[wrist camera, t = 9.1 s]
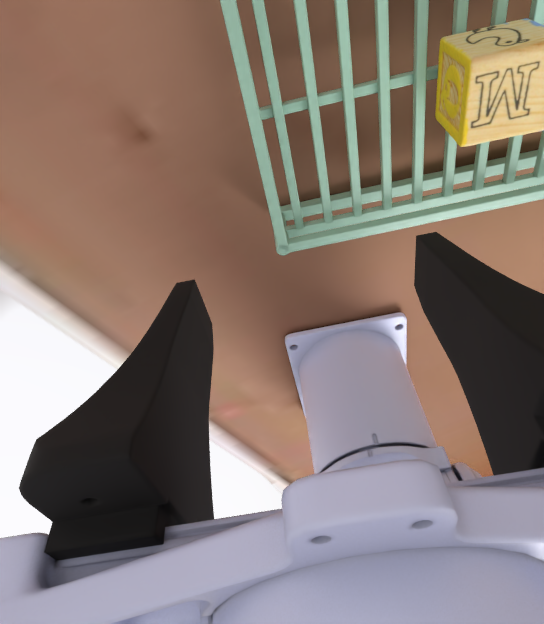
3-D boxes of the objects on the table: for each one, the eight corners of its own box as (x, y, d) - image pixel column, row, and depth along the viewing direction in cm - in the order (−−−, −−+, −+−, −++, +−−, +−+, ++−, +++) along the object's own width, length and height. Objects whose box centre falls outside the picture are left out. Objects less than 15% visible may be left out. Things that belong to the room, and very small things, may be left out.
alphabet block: (510, 104, 18) (551, 132, 16) (432, 121, 18) (462, 151, 16) (525, 15, 16) (574, 33, 14) (437, 36, 16) (471, 57, 14)
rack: (754, -229, 14) (875, -261, 11) (625, 141, 22) (678, 172, 19) (203, -76, 15) (199, -73, 13) (272, 218, 23) (277, 257, 21)
